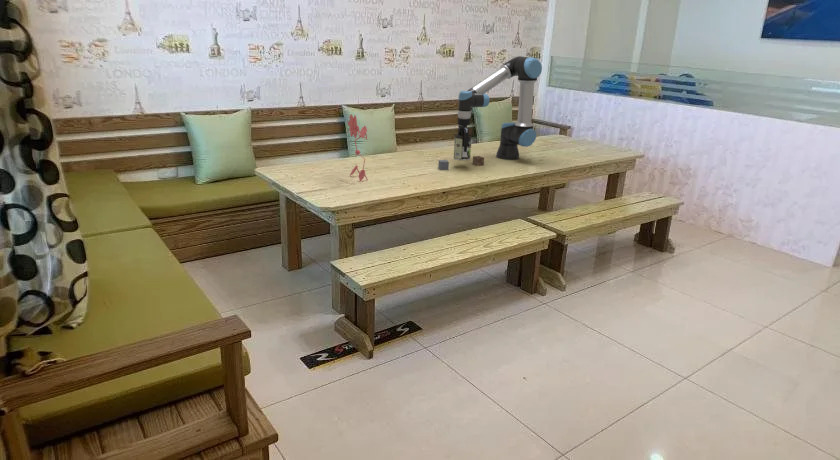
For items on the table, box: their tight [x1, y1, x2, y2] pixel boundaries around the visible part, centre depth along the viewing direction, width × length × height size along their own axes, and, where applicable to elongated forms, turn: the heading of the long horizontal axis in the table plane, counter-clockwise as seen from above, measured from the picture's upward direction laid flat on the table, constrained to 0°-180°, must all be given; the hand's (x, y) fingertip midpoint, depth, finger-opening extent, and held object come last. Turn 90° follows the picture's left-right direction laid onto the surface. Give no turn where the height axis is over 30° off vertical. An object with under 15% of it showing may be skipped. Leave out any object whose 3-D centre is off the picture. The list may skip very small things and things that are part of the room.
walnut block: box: [472, 155, 485, 167], centre depth 339 cm, size 5×5×5 cm
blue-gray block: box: [437, 159, 450, 171], centre depth 324 cm, size 5×5×5 cm
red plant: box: [341, 113, 369, 185], centre depth 289 cm, size 15×26×35 cm, turn 29°
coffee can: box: [453, 133, 473, 161], centre depth 327 cm, size 10×10×14 cm
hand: (462, 154), depth 329 cm, fingers closed on coffee can, 10 cm apart
